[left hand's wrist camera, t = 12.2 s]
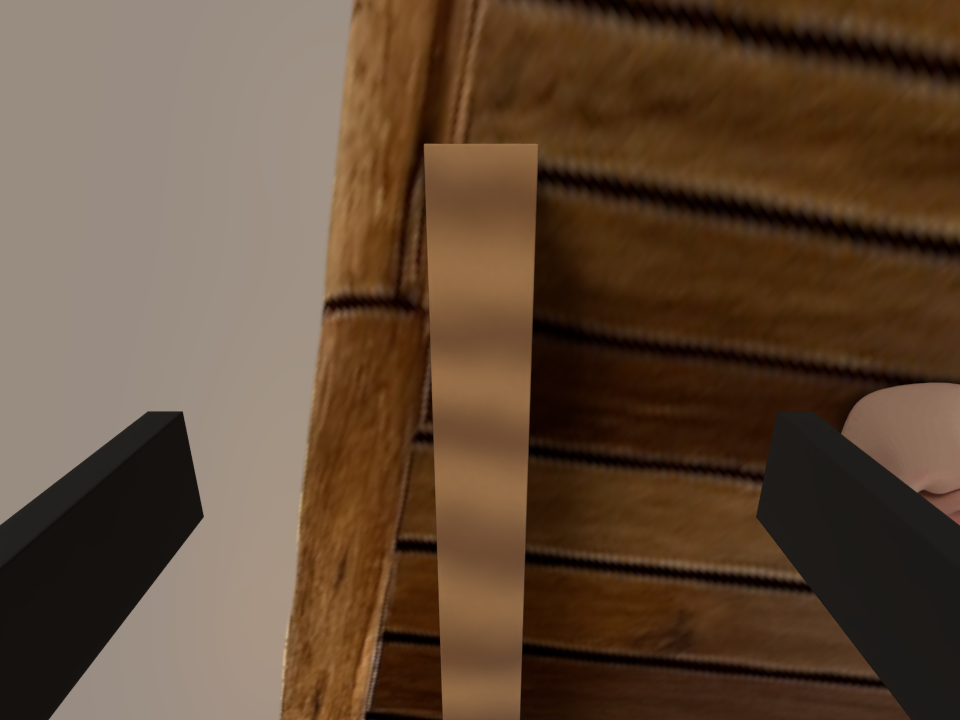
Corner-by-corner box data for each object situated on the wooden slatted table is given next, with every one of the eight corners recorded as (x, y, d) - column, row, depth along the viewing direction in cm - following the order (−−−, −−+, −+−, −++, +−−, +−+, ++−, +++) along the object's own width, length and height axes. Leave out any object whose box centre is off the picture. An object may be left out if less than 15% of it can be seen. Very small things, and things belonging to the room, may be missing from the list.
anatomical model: (855, 439, 31) (1071, 371, 30) (815, 409, 35) (1006, 347, 34) (884, 612, 36) (1076, 559, 34) (846, 569, 39) (1017, 519, 38)
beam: (438, 147, 30) (423, 143, 22) (523, 146, 30) (538, 143, 22) (456, 870, 51) (452, 1000, 43) (506, 870, 51) (510, 1000, 43)
